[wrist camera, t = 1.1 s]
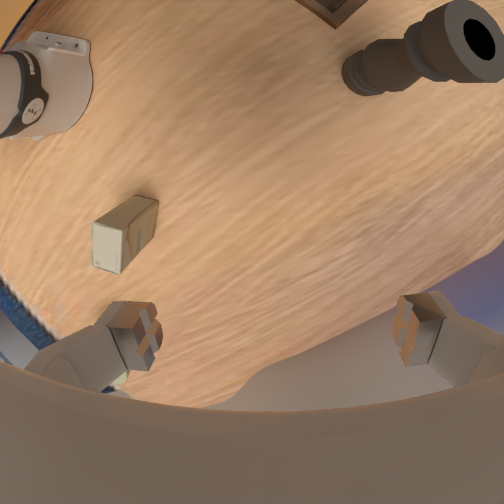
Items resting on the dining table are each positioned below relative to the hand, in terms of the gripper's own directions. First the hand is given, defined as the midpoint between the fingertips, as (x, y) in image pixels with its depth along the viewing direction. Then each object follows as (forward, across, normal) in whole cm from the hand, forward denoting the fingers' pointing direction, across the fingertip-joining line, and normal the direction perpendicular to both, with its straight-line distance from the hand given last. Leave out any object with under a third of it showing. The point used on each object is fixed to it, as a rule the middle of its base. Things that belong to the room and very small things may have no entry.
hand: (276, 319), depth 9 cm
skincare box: (+32, +20, +5) cm, 38 cm away
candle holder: (+32, -13, -14) cm, 37 cm away
